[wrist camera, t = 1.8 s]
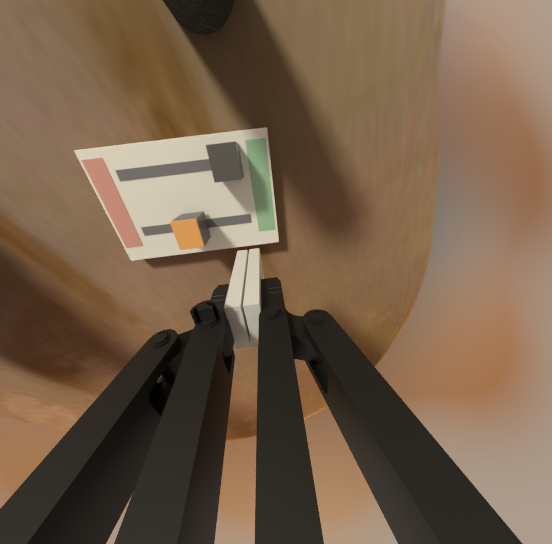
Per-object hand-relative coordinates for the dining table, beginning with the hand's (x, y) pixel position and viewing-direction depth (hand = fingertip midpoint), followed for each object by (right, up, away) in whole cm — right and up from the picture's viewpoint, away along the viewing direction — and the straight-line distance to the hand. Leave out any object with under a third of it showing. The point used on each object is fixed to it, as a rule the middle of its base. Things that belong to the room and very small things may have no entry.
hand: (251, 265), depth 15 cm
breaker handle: (-9, +6, +12) cm, 16 cm away
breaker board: (-9, +10, +13) cm, 18 cm away
